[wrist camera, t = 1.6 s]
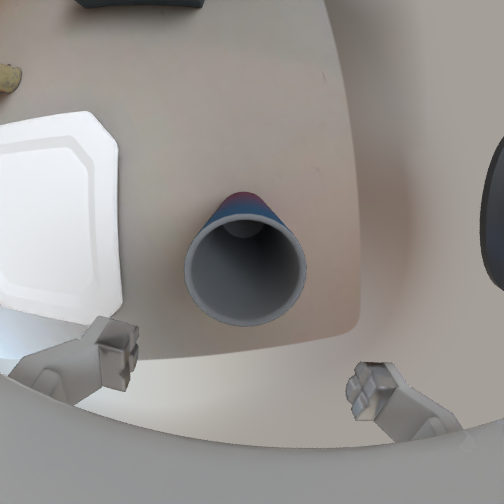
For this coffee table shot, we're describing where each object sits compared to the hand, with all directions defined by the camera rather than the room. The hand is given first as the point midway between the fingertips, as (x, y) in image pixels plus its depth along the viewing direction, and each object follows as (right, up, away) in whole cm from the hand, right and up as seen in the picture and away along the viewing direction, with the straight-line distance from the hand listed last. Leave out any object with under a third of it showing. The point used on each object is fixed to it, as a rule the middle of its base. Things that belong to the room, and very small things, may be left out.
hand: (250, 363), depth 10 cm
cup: (-1, +8, +21) cm, 22 cm away
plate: (-26, +8, +20) cm, 34 cm away
